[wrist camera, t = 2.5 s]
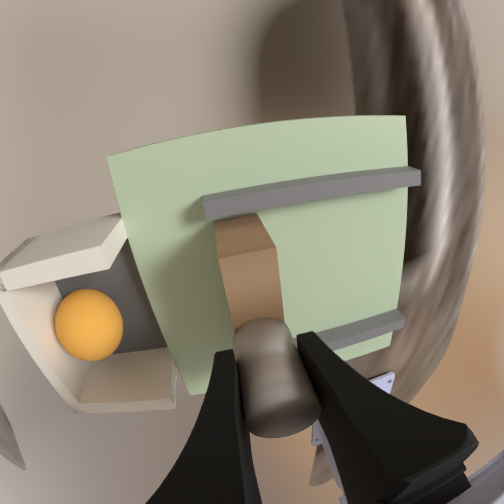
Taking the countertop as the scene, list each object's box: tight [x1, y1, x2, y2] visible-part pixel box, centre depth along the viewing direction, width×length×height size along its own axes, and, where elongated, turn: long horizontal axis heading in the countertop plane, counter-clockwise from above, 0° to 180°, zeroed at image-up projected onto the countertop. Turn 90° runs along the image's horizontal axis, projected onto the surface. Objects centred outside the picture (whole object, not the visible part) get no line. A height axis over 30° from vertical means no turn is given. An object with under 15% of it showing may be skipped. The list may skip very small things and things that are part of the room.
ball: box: [55, 289, 123, 361], centre depth 14 cm, size 4×4×4 cm
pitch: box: [0, 115, 421, 413], centre depth 15 cm, size 16×22×4 cm
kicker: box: [214, 213, 322, 438], centre depth 12 cm, size 8×2×8 cm, turn 8°
